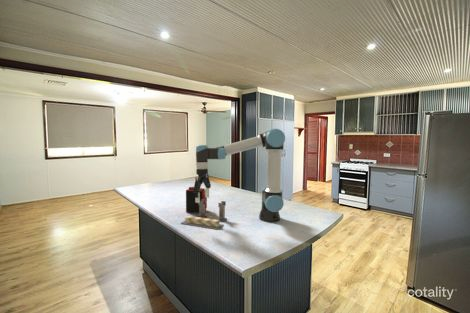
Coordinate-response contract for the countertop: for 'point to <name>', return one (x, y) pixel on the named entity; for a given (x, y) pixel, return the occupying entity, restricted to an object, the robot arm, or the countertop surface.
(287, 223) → the countertop surface
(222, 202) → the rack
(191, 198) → the red coffee machine
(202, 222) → the rail
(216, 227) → the mat
